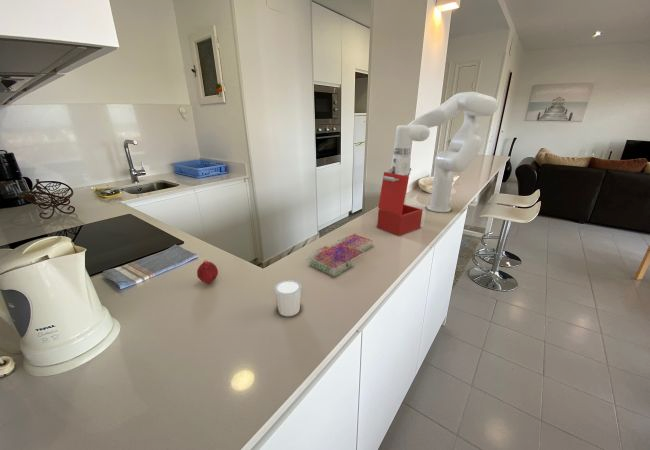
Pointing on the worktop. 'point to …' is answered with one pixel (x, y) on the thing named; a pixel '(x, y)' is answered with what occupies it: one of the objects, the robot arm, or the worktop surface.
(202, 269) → the onion
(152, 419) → the worktop surface
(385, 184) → the lid
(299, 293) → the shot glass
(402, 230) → the red box
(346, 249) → the confetti patterned tile
